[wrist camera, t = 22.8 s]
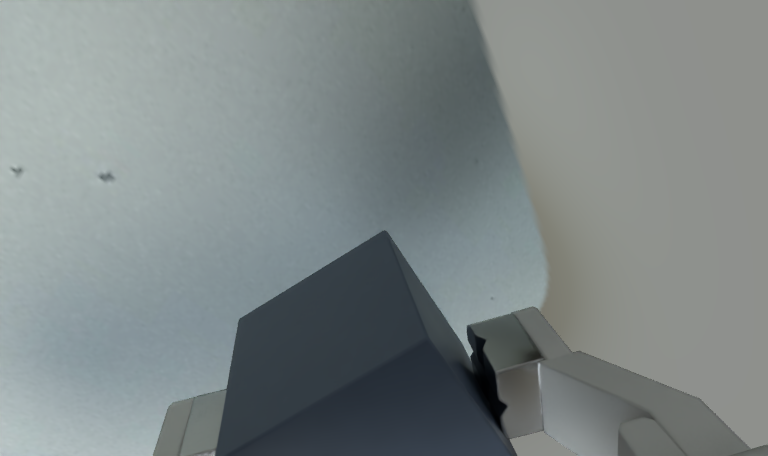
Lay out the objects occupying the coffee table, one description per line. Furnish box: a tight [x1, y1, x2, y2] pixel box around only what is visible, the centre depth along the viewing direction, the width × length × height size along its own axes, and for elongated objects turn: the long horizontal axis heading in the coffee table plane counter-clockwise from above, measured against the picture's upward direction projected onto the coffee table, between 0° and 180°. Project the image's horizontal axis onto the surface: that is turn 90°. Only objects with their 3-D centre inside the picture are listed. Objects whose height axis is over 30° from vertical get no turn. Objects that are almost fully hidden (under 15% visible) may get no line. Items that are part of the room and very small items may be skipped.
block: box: [215, 230, 517, 456], centre depth 10 cm, size 4×4×4 cm
